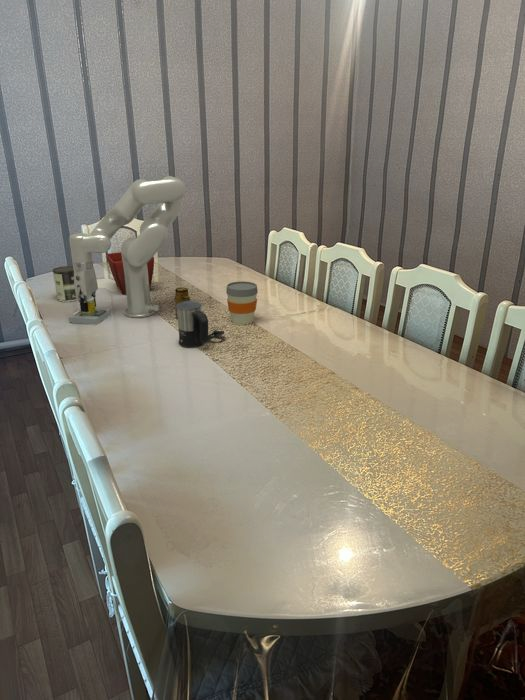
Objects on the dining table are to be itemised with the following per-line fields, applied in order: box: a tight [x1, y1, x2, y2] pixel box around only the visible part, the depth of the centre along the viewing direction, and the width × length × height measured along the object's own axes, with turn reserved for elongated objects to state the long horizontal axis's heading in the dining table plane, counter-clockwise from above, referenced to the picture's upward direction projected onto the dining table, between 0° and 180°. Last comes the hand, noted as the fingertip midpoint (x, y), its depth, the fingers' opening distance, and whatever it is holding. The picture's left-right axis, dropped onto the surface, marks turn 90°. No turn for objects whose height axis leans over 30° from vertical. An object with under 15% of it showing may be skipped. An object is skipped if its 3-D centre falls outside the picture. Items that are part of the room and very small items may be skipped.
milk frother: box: [176, 300, 225, 348], centre depth 189 cm, size 14×16×15 cm
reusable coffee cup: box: [225, 280, 259, 325], centre depth 208 cm, size 13×12×15 cm
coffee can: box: [52, 265, 78, 303], centre depth 236 cm, size 10×10×14 cm
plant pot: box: [106, 251, 155, 295], centre depth 248 cm, size 19×19×17 cm
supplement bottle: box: [81, 293, 97, 316], centre depth 211 cm, size 5×5×10 cm
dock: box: [68, 308, 111, 325], centre depth 213 cm, size 12×12×3 cm
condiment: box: [171, 287, 191, 320], centre depth 213 cm, size 7×8×12 cm
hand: (88, 308), depth 212 cm, fingers closed on supplement bottle, 5 cm apart
